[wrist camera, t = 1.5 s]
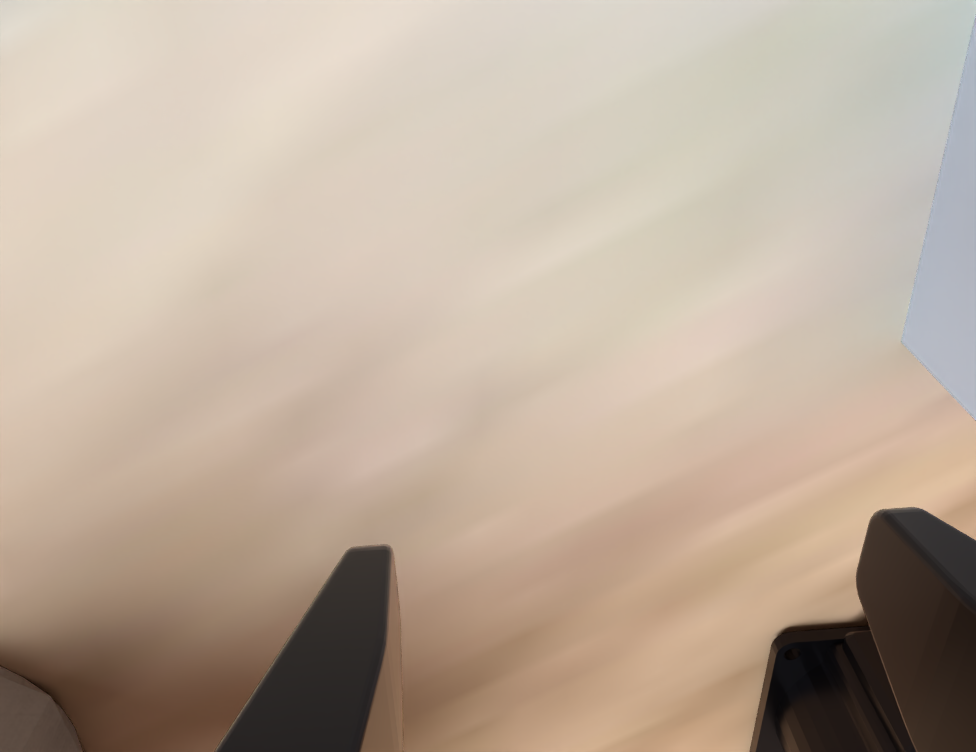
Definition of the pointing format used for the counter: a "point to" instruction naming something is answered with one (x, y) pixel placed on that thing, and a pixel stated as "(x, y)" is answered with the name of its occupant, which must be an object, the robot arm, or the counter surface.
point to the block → (950, 258)
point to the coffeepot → (32, 719)
